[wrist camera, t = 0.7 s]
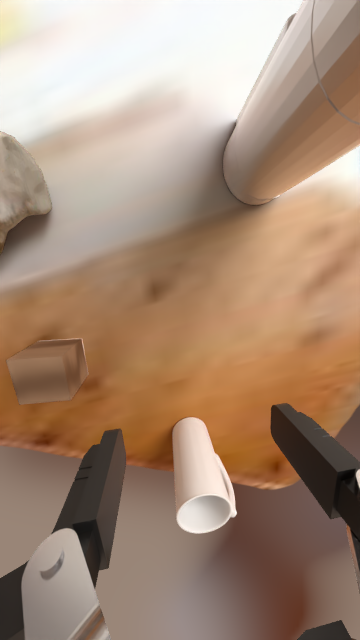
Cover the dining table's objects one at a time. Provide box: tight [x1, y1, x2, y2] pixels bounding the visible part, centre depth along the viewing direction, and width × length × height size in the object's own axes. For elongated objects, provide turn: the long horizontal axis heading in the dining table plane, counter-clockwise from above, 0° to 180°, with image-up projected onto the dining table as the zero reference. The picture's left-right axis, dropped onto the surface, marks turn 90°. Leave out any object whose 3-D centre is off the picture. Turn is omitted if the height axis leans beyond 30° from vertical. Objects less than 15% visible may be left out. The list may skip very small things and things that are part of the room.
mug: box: [172, 417, 237, 533], centre depth 28 cm, size 10×7×12 cm, turn 54°
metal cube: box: [6, 338, 88, 405], centre depth 25 cm, size 6×6×6 cm
